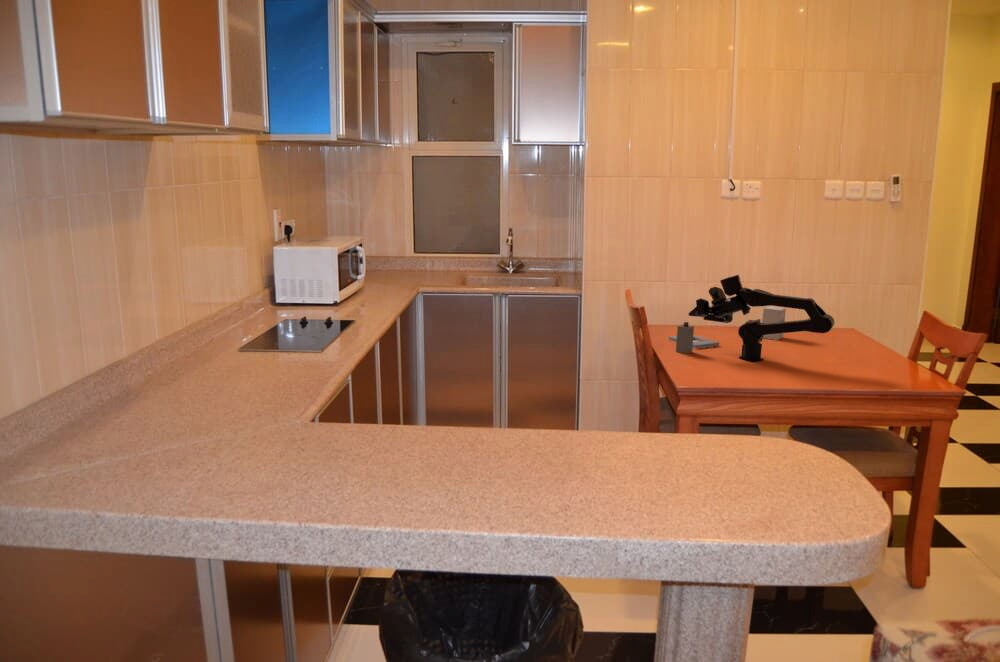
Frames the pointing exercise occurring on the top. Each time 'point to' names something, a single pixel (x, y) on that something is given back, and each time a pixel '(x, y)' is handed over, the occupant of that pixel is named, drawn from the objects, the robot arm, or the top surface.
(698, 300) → the robot arm
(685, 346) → the plug
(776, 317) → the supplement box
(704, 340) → the socket
